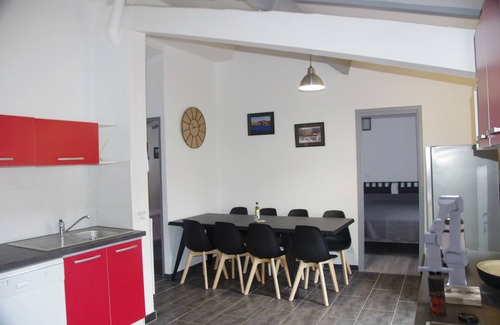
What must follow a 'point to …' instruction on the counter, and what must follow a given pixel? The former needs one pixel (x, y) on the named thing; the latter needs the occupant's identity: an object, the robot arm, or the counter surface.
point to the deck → (463, 295)
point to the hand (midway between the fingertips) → (436, 287)
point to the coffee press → (447, 237)
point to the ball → (448, 287)
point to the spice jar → (437, 295)
